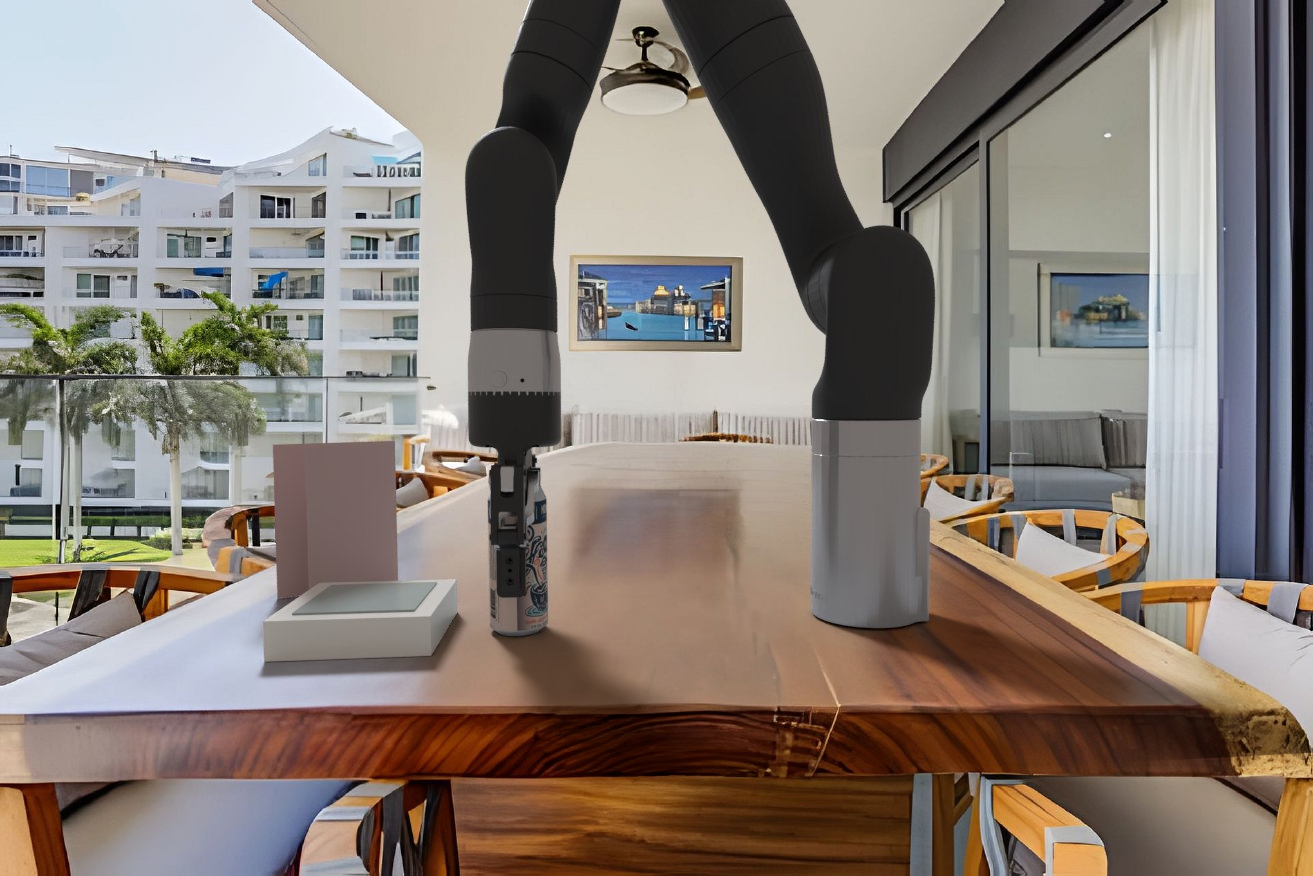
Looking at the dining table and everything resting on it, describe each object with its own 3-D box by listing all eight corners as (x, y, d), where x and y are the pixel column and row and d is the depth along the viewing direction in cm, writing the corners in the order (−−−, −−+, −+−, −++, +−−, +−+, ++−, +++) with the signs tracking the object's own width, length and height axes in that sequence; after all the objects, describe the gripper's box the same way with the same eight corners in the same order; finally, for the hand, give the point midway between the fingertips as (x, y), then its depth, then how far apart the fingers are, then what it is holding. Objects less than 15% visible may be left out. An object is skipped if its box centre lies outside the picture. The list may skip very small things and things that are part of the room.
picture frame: (457, 612, 69) (457, 577, 69) (431, 655, 57) (430, 614, 57) (320, 616, 68) (319, 581, 68) (264, 661, 56) (262, 619, 56)
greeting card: (396, 581, 81) (393, 440, 81) (413, 596, 75) (410, 443, 74) (276, 596, 76) (271, 444, 75) (284, 614, 69) (279, 448, 68)
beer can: (536, 640, 61) (534, 490, 61) (480, 636, 62) (477, 489, 62) (555, 623, 66) (554, 483, 65) (503, 620, 67) (501, 482, 66)
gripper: (557, 386, 56) (559, 605, 57) (563, 389, 70) (564, 564, 71) (453, 386, 56) (456, 607, 56) (480, 389, 70) (482, 566, 71)
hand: (516, 583), depth 64 cm, fingers open, 8 cm apart
